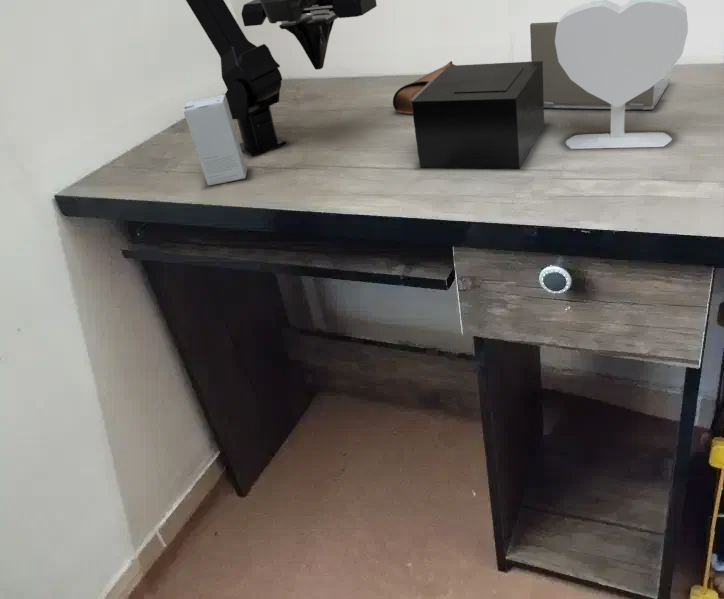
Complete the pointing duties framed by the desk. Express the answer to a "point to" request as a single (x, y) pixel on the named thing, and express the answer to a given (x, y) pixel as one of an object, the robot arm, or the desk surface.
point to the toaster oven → (479, 116)
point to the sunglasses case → (413, 91)
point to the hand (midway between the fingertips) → (319, 68)
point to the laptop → (568, 93)
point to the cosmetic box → (215, 139)
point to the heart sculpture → (620, 58)
